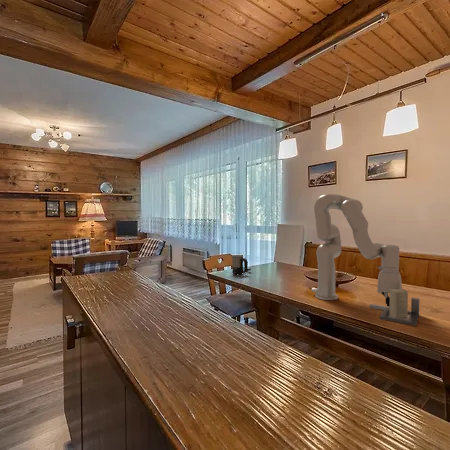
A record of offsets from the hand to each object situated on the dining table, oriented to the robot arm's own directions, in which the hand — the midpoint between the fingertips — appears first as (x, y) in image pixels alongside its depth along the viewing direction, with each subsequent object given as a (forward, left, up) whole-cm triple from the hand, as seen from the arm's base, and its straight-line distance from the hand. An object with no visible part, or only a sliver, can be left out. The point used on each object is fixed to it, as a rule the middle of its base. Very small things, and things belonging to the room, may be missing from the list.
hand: (389, 305), depth 142 cm
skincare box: (+5, -9, -1) cm, 11 cm away
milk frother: (-110, +27, -3) cm, 113 cm away
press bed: (+5, -10, -3) cm, 11 cm away
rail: (+1, 0, -3) cm, 3 cm away
